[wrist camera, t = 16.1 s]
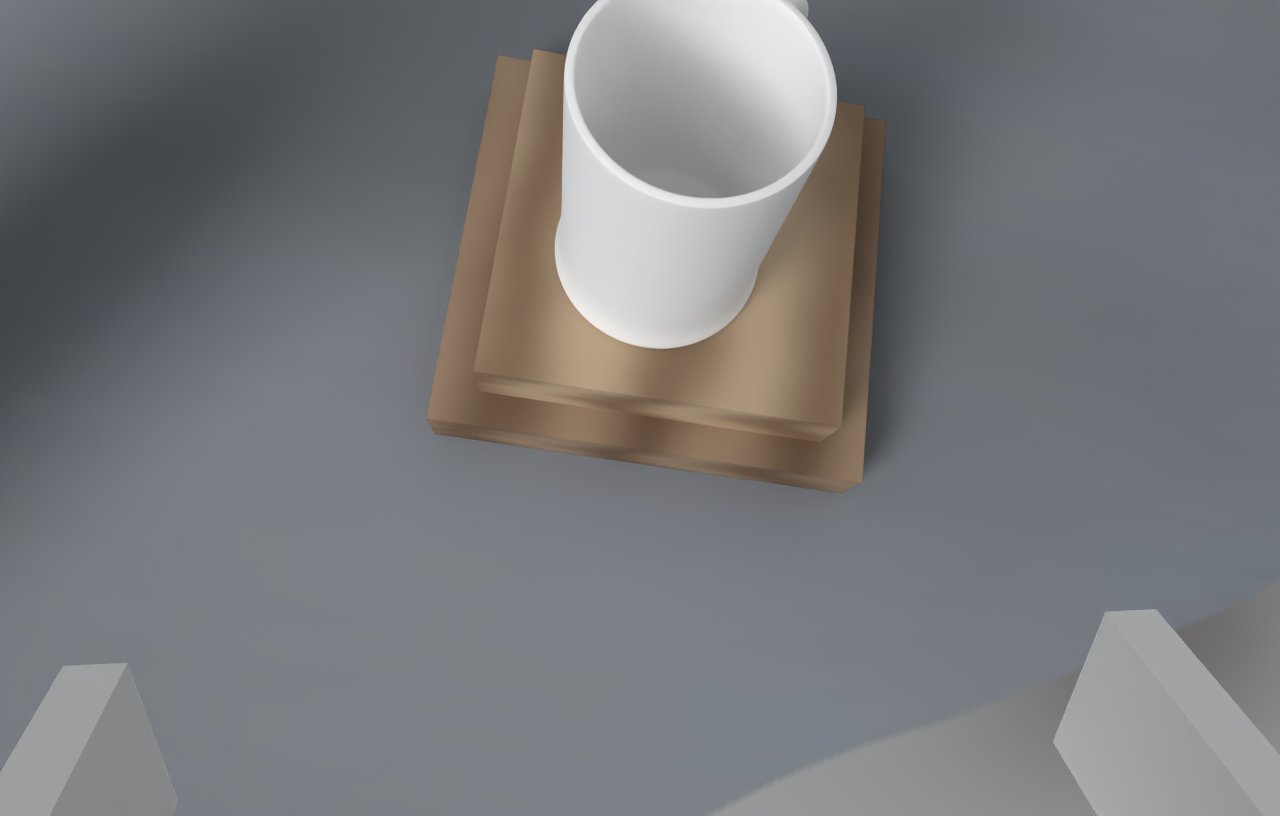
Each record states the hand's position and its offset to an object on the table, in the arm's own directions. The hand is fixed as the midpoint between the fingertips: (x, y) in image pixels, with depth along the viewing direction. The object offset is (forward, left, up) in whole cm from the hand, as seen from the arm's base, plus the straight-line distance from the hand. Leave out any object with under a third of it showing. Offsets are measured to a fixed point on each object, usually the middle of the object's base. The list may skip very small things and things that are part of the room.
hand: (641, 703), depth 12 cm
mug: (+1, +18, -22) cm, 28 cm away
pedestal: (+1, +18, -27) cm, 33 cm away
